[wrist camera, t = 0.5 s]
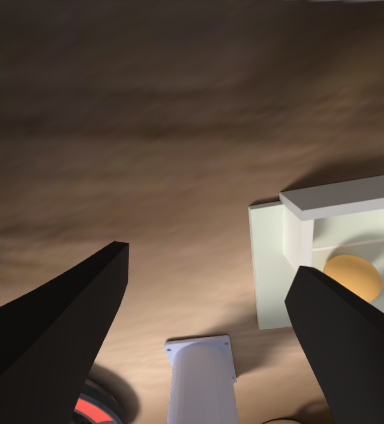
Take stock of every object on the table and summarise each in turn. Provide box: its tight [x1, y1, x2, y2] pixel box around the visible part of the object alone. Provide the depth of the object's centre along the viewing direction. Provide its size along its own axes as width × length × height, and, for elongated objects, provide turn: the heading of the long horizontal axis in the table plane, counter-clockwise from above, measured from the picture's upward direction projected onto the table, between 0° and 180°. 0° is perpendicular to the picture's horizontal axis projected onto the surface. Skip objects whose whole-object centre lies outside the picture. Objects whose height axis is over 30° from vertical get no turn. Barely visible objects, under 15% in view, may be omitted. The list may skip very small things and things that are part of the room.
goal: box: [279, 175, 384, 273], centre depth 16 cm, size 6×10×4 cm, turn 100°
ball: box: [323, 255, 382, 303], centre depth 17 cm, size 4×4×4 cm
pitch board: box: [248, 201, 384, 330], centre depth 20 cm, size 15×15×1 cm
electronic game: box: [69, 378, 127, 424], centre depth 29 cm, size 23×23×5 cm
